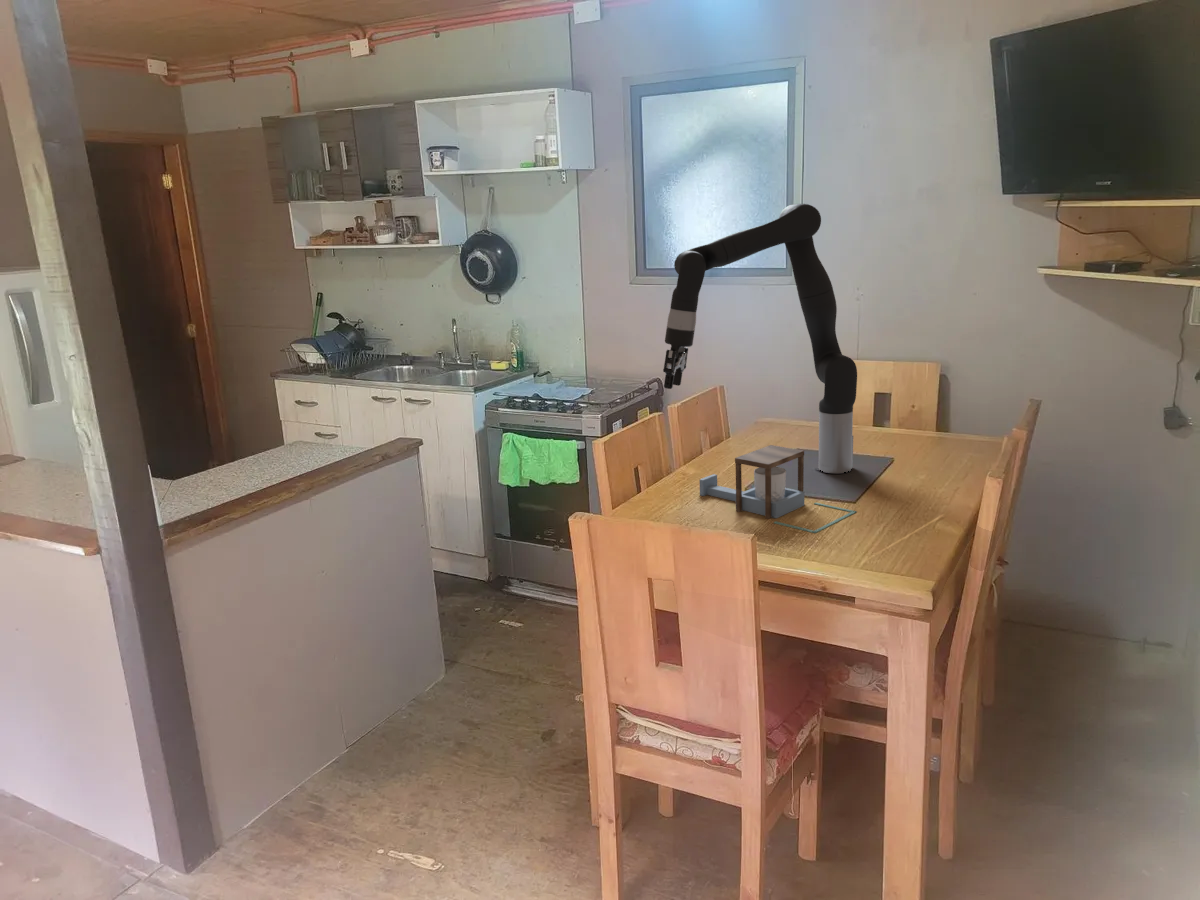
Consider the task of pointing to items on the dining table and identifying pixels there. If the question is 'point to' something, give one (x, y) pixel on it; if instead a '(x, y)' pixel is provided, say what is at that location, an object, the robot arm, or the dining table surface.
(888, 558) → the dining table surface
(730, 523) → the dining table surface
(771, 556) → the dining table surface
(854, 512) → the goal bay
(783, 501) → the sled frame
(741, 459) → the small brown wooden table
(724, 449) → the dining table surface
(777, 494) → the white cup
